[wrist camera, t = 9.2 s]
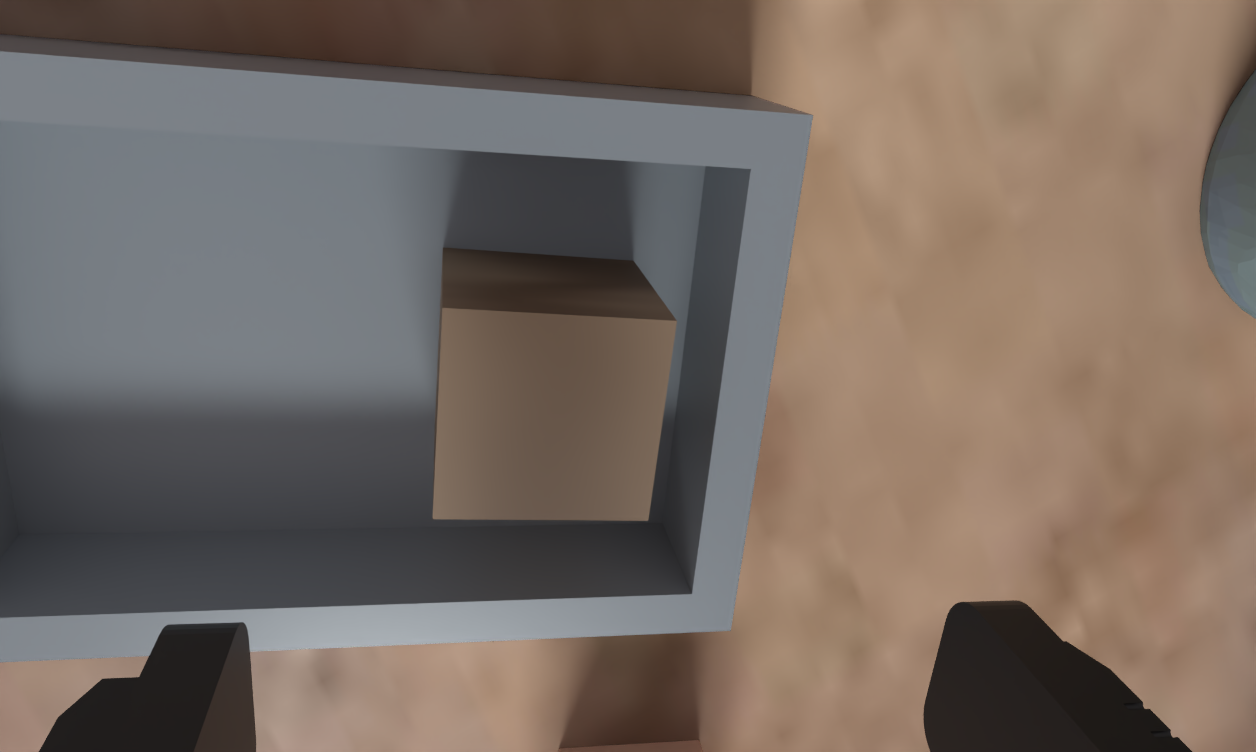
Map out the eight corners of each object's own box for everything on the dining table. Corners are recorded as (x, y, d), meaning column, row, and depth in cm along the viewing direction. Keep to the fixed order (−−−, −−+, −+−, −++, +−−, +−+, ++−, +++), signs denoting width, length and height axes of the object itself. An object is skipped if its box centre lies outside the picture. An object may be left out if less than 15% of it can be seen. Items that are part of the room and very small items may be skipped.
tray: (751, 95, 19) (812, 114, 16) (691, 544, 23) (730, 631, 20) (-118, 24, 16) (-258, 31, 13) (-14, 560, 20) (-100, 666, 17)
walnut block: (633, 260, 20) (676, 320, 16) (612, 430, 21) (648, 521, 17) (442, 247, 19) (442, 307, 15) (434, 425, 20) (432, 519, 16)
